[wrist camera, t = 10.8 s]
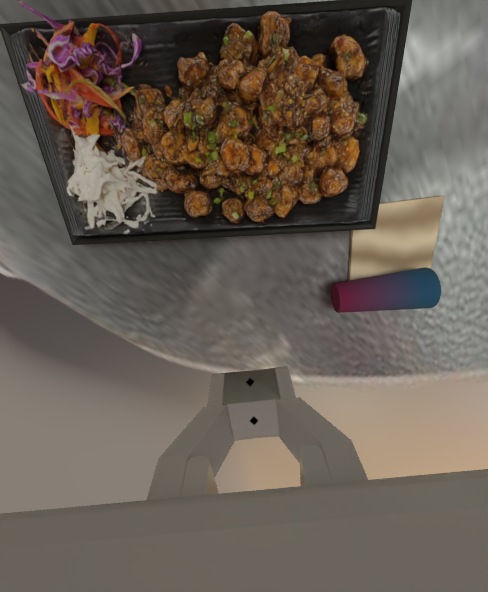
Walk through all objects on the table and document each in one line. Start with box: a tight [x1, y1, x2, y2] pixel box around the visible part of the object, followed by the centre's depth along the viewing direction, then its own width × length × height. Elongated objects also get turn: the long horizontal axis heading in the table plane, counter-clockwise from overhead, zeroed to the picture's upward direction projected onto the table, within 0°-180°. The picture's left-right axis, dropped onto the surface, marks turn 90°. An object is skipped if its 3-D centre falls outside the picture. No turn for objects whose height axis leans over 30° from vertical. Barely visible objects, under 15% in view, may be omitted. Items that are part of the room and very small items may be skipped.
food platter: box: [0, 0, 412, 245], centre depth 32 cm, size 45×25×10 cm, turn 93°
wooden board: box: [348, 196, 445, 281], centre depth 44 cm, size 18×14×1 cm
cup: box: [331, 267, 441, 313], centre depth 43 cm, size 7×7×15 cm
